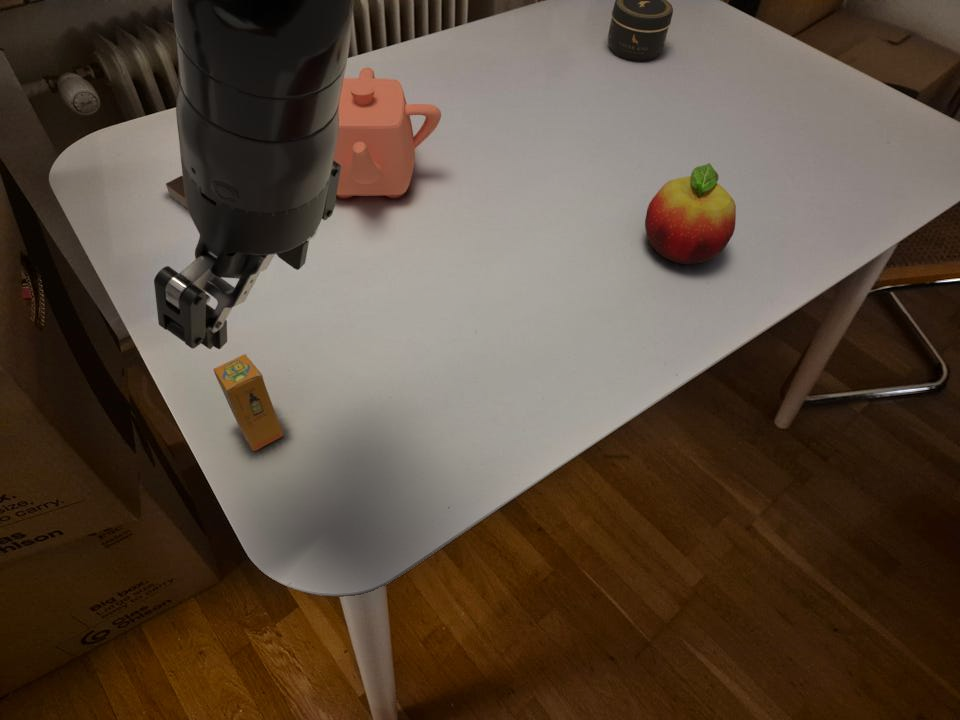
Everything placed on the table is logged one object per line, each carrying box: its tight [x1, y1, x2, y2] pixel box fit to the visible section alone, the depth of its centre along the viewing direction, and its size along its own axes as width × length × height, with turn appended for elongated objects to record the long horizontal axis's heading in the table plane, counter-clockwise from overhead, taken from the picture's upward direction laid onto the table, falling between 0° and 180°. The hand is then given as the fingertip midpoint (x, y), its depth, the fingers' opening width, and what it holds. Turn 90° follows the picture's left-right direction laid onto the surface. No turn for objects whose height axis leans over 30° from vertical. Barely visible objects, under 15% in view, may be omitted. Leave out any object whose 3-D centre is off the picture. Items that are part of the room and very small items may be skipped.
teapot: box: [334, 67, 442, 199], centre depth 85 cm, size 17×16×13 cm
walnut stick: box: [165, 175, 188, 210], centre depth 83 cm, size 2×14×2 cm, turn 50°
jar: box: [607, 0, 674, 62], centre depth 114 cm, size 10×10×8 cm
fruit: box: [644, 162, 737, 265], centre depth 82 cm, size 11×11×10 cm
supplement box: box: [213, 353, 284, 452], centre depth 61 cm, size 3×3×10 cm
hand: (251, 297), depth 48 cm, fingers open, 8 cm apart
